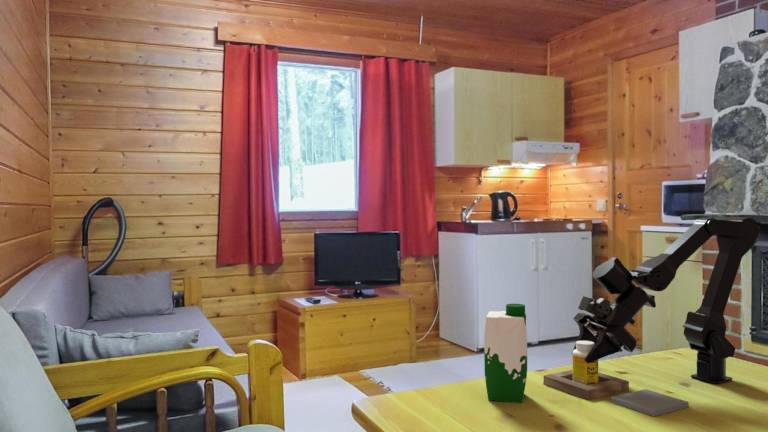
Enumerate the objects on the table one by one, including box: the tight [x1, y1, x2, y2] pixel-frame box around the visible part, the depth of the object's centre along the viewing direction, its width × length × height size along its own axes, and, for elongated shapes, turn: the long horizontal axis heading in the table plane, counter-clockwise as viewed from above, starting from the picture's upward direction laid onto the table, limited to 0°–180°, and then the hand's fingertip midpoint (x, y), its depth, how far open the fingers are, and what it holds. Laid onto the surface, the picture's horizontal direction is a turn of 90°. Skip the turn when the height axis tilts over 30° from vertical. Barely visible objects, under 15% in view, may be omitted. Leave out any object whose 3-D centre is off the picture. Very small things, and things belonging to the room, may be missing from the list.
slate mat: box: [610, 388, 689, 417], centre depth 122 cm, size 11×10×1 cm
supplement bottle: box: [572, 340, 599, 385], centre depth 134 cm, size 6×6×10 cm
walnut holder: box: [543, 369, 630, 401], centre depth 134 cm, size 13×13×2 cm
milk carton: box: [483, 303, 528, 404], centre depth 127 cm, size 9×9×20 cm
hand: (579, 358), depth 134 cm, fingers closed on supplement bottle, 5 cm apart
